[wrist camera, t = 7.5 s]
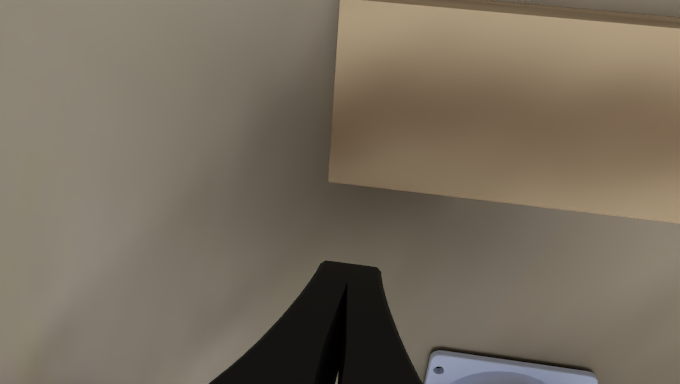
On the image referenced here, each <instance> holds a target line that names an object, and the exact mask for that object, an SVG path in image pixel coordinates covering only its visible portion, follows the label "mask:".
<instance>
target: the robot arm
mask: <svg viewBox="0 0 680 384" xmlns="http://www.w3.org/2000/svg"><path fill="white" fill-rule="evenodd" d="M436 367H441V368H436ZM337 374H338V384H422V382H421V380H420V378H419V376H418V374H417V372H416V370H415V368H414V366H413V364H412V362H411V360H410V358H409V356H408V354H407V352H406V350H405V348H404V345H403V343H402V341H401V338H400V336H399V333H398V331H397V328H396V326H395V323H394V320H393V318H392V315H391V312H390V309H389V306H388V303H387V299H386V296H385V292H384V288H383V284H382V278H381V271H380V270H379V269H378V268H377V267H371V266H363V265H356V264H348V263H341V262H333V261H324V262H323V263H321V264H320V266H319V268H318V269H317V271H316V273H315V274H314V276H313V277H312V279H311V280H310V282H309V283H308V284H307V286H306V287H305V288H304V290H303V291H302V292H301V294H300V295H299V296H298V297H297V299H296V300H295V301H294V302H293V304H292V305H291V306H290V307H289V308H288V310H287V311H286V312H285V313H284V314H283V315H282V317H281V318H280V319H279V320H278V321H277V322H276V323H275V324H274V325H273V326H272V327H271V328H270V329H269V330H268V331H267V333H266V334H265V335H264V336H263V337H262V338H261V339H260V340H259V341H258V342H257V343H256V344H255V345H254V346H253V347H251V348H250V349H249V350H248V351H247V352H246V353H245V354H244V355H243V356H242V357H240V358H239V359H238V360H237V361H236V362H235V363H234V364H233V365H231V366H230V367H229V368H228V369H227V370H225V371H224V372H223V373H221V374H220V375H219V376H218V377H216V378H215V379H214V380H213V381H211V382H210V383H209V384H335V382H336V378H337ZM424 384H598V381H597V378H596V376H595V374H593V373H592V372H589V371H583V370H576V369H569V368H562V367H555V366H548V365H541V364H534V363H527V362H520V361H513V360H506V359H499V358H492V357H485V356H478V355H471V354H464V353H457V352H450V351H442V350H437V351H434V352H433V353H432V354H431V355H430V359H429V363H428V368H427V372H426V377H425V382H424Z"/></svg>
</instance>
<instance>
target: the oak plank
mask: <svg viewBox="0 0 680 384" xmlns="http://www.w3.org/2000/svg"><path fill="white" fill-rule="evenodd" d="M328 182H333V183H341V184H349V185H358V186H366V187H375V188H383V189H392V190H400V191H409V192H417V193H426V194H434V195H442V196H451V197H459V198H468V199H476V200H485V201H493V202H502V203H510V204H519V205H527V206H535V207H544V208H552V209H561V210H569V211H578V212H586V213H595V214H603V215H611V216H620V217H628V218H637V219H645V220H654V221H662V222H671V223H679V224H680V17H669V16H658V15H647V14H635V13H624V12H612V11H601V10H590V9H578V8H567V7H555V6H544V5H533V4H521V3H510V2H498V1H487V0H340V7H339V22H338V37H337V52H336V67H335V82H334V97H333V112H332V127H331V143H330V158H329V173H328Z"/></svg>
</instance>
